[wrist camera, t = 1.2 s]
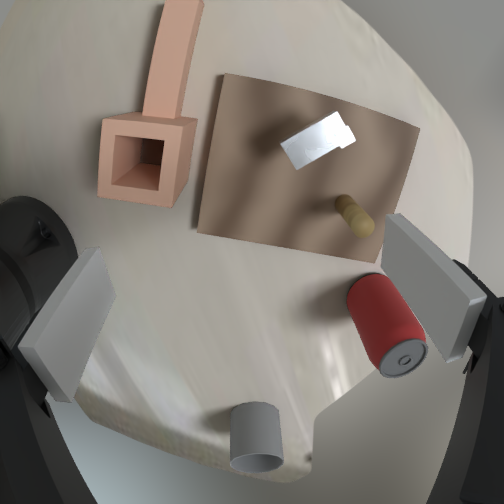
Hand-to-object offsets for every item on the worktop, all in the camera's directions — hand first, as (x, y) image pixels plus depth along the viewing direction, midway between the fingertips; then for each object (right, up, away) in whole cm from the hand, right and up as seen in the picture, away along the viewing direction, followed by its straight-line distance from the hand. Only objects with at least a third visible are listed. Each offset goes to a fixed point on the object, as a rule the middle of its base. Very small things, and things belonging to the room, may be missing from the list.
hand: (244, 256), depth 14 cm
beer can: (+15, -5, +25) cm, 30 cm away
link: (-7, +16, +13) cm, 22 cm away
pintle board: (+6, +8, +17) cm, 20 cm away
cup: (+1, -28, +36) cm, 46 cm away
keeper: (+5, +12, +15) cm, 20 cm away
